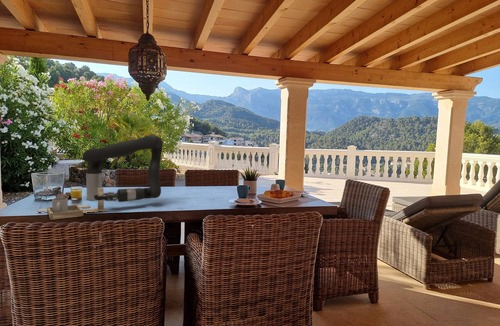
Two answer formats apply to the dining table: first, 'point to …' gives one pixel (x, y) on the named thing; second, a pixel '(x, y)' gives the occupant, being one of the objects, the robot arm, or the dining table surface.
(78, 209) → the tan wooden stand
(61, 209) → the cup
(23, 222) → the dining table surface
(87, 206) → the broken strip
